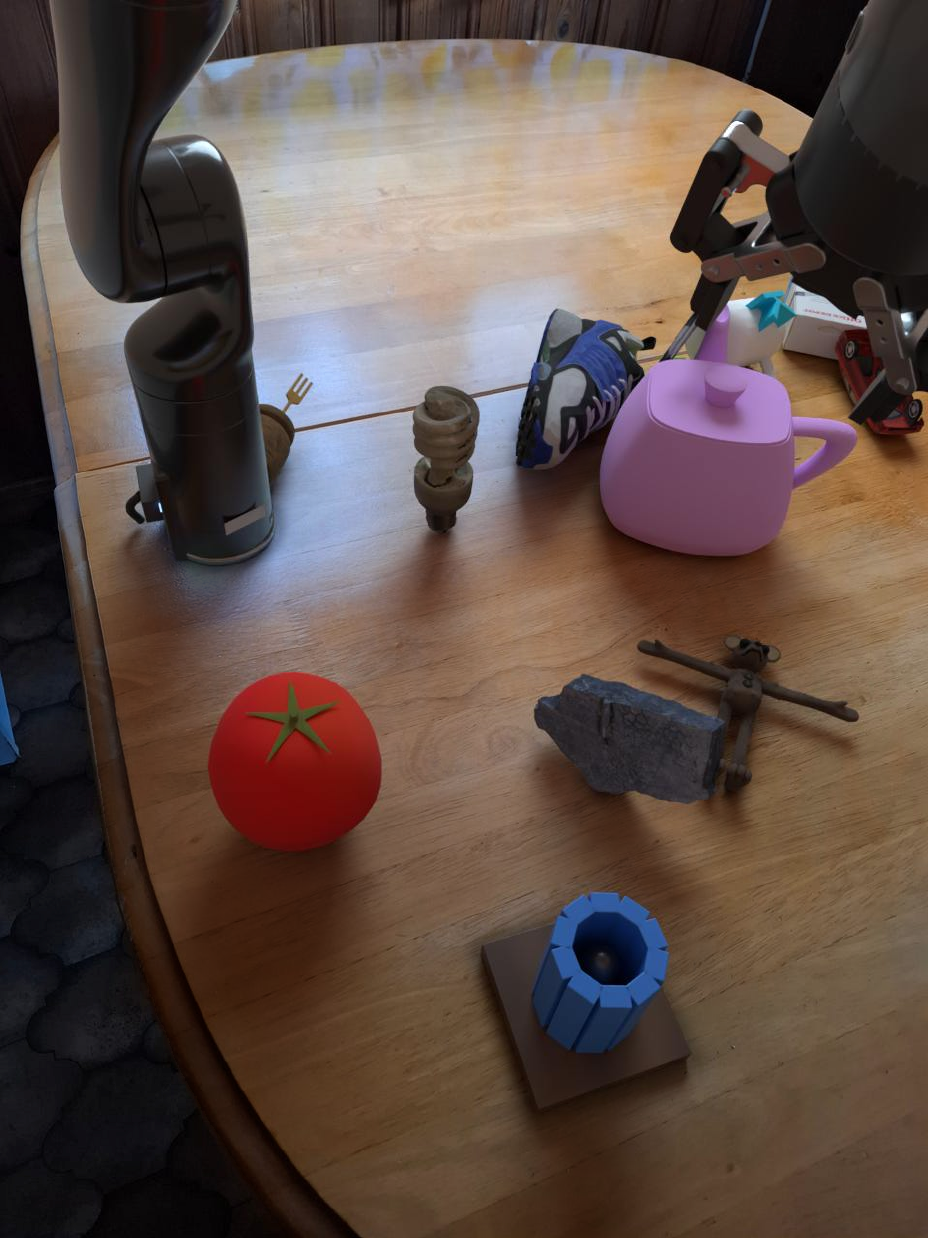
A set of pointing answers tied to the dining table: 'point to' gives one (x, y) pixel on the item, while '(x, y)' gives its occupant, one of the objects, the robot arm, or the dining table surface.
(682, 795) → the stone
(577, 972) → the blue notched tube
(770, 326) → the mug
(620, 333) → the athletic shoe
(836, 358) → the ink box
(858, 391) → the toy car
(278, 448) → the utensil holder
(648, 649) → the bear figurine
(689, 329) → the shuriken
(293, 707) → the tomato
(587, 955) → the peg stand
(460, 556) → the dining table surface
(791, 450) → the teapot
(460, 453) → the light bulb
